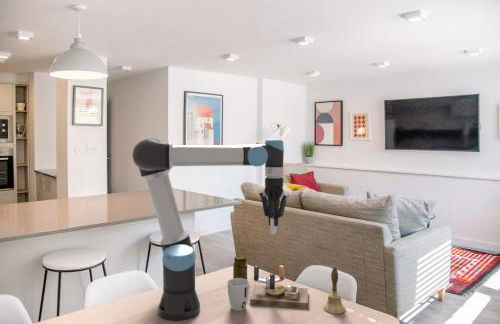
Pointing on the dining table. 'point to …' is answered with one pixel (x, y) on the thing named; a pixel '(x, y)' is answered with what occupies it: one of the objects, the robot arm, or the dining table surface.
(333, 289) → the hand bell
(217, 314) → the dining table surface
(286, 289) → the ball
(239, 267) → the condiment
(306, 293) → the stand
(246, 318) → the dining table surface
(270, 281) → the capstan
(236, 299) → the cup
